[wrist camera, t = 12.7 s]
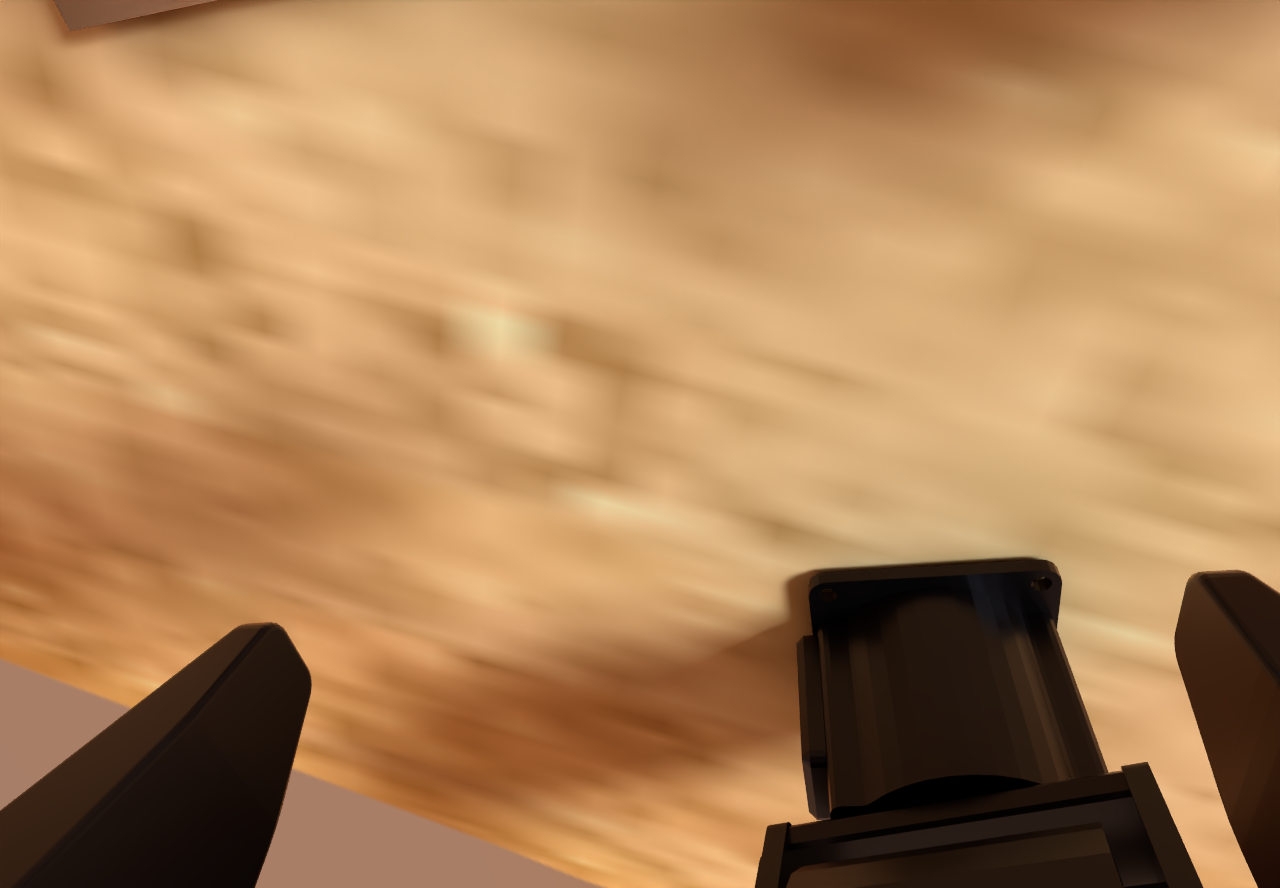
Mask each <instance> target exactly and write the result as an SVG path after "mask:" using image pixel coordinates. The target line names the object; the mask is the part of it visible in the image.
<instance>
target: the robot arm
mask: <svg viewBox="0 0 1280 888" xmlns="http://www.w3.org/2000/svg"><path fill="white" fill-rule="evenodd" d="M1040 577H1045V578H1043V579H1041V580H1035V579H1037V578H1040ZM1061 588H1062V580H1061V576H1060V574H1059V571H1058V569H1057V567H1056V566H1055V564H1054V563H1052V562H1050V561H1047V560H1024V561H1007V562H990V563H973V564H956V565H939V566H922V567H905V568H888V569H871V570H854V571H838V572H824V573H819V574H817V575H815V576H813V577H812V578H811V579H810V581H809V584H808V592H809V603H810V612H811V621H812V630H813V635H806V636H803V637H802V638H801V639H800V640H799V641H798V642H797V662H798V684H799V706H800V728H801V750H802V763H803V771H804V778H805V785H806V792H807V800H808V807H809V812H810V813H811V814H812V815H813V816H814V817H815V818H816V819H817V820H822V821H816V822H810V823H804V824H798V825H791V824H790V823H789V822H786V823H781V824H775V825H769V826H767V830H766V835H765V841H764V847H763V852H762V857H761V858H760V861H759V867H758V873H757V878H756V884H755V888H1203V886H1202V884H1201V881H1200V879H1199V877H1198V875H1197V872H1196V870H1195V868H1194V866H1193V863H1192V861H1191V859H1190V857H1189V854H1188V852H1187V850H1186V848H1185V845H1184V843H1183V841H1182V839H1181V836H1180V834H1179V832H1178V830H1177V827H1176V825H1175V823H1174V821H1173V818H1172V816H1171V814H1170V812H1169V809H1168V807H1167V805H1166V802H1165V800H1164V798H1163V796H1162V793H1161V791H1160V789H1159V787H1158V784H1157V782H1156V780H1155V778H1154V775H1153V773H1152V771H1151V769H1150V766H1149V764H1148V762H1143V763H1137V764H1131V765H1125V766H1121V769H1122V771H1116V772H1110V773H1108V770H1107V767H1106V764H1105V762H1104V759H1103V756H1102V753H1101V751H1100V748H1099V745H1098V742H1097V739H1096V737H1095V734H1094V731H1093V728H1092V726H1091V723H1090V720H1089V717H1088V715H1087V712H1086V709H1085V706H1084V704H1083V701H1082V698H1081V695H1080V693H1079V690H1078V687H1077V684H1076V681H1075V679H1074V676H1073V673H1072V670H1071V668H1070V665H1069V662H1068V659H1067V657H1066V654H1065V651H1064V648H1063V646H1062V643H1061V640H1060V637H1059V634H1058V632H1057V623H1058V614H1059V605H1060V597H1061ZM824 589H831V590H832V591H829V592H824V591H821V590H824ZM1175 652H1176V658H1177V661H1178V665H1179V668H1180V671H1181V674H1182V677H1183V681H1184V684H1185V687H1186V690H1187V693H1188V696H1189V699H1190V702H1191V706H1192V709H1193V712H1194V715H1195V718H1196V721H1197V724H1198V728H1199V731H1200V734H1201V737H1202V740H1203V743H1204V746H1205V749H1206V753H1207V756H1208V759H1209V762H1210V765H1211V768H1212V771H1213V774H1214V778H1215V781H1216V784H1217V787H1218V790H1219V793H1220V796H1221V799H1222V802H1223V805H1224V808H1225V811H1226V814H1227V817H1228V819H1229V822H1230V825H1231V827H1232V829H1233V832H1234V834H1235V837H1236V839H1237V841H1238V844H1239V846H1240V848H1241V851H1242V853H1243V855H1244V857H1245V860H1246V862H1247V864H1248V866H1249V868H1250V871H1251V873H1252V875H1253V877H1254V880H1255V882H1256V884H1257V886H1258V888H1280V593H1279V592H1277V591H1276V590H1274V589H1273V588H1271V587H1270V586H1268V585H1267V584H1265V583H1264V582H1262V581H1261V580H1259V579H1258V578H1257V577H1255V576H1253V575H1252V574H1250V573H1247V572H1245V571H1241V570H1226V571H1207V572H1198V573H1195V574H1193V575H1192V576H1191V577H1190V578H1189V579H1188V582H1187V584H1186V588H1185V592H1184V597H1183V601H1182V605H1181V610H1180V614H1179V618H1178V623H1177V627H1176V631H1175ZM311 685H312V683H311V675H310V672H309V669H308V667H307V666H306V664H305V662H304V661H303V659H302V657H301V656H300V654H299V652H298V651H297V649H296V647H295V646H294V644H293V642H292V641H291V639H290V637H289V636H288V634H287V632H286V631H285V630H284V628H283V627H282V626H280V625H279V624H277V623H272V622H269V623H251V624H244V625H240V626H238V627H236V628H235V629H233V630H232V631H231V632H230V633H228V634H227V635H226V636H224V637H223V638H222V639H220V640H219V641H218V642H217V643H215V644H214V645H213V646H211V647H210V648H209V649H208V650H206V651H205V652H204V653H202V654H201V655H200V656H199V657H197V658H196V659H195V660H193V661H192V662H191V663H190V664H188V665H187V666H186V667H184V668H183V669H182V670H181V671H179V672H178V673H177V674H175V675H174V676H173V677H172V678H170V679H169V680H168V681H166V682H165V683H164V684H163V685H161V686H160V687H159V688H157V689H156V690H155V691H154V692H152V693H151V694H150V695H148V696H147V697H146V698H145V699H143V700H142V701H141V702H139V703H138V704H137V705H136V706H134V707H133V708H132V709H130V710H129V711H128V712H127V713H125V714H124V715H123V716H121V717H120V718H119V719H118V720H116V721H115V722H114V723H112V724H111V725H110V726H109V727H107V728H106V729H105V730H103V731H102V732H101V733H100V734H98V735H97V736H96V737H94V738H93V739H92V740H90V741H89V742H88V743H87V744H85V745H84V746H83V747H81V748H80V749H79V750H78V751H76V752H75V753H74V754H72V755H71V756H70V757H69V758H67V759H66V760H65V761H63V762H62V763H61V764H60V765H58V766H57V767H56V768H54V769H53V770H52V771H51V772H49V773H48V774H47V775H45V776H44V777H43V778H42V779H40V780H39V781H38V782H36V783H35V784H34V785H33V786H31V787H30V788H29V789H27V790H26V791H25V792H24V793H22V794H21V795H20V796H18V797H17V798H16V799H15V800H13V801H12V802H11V803H9V804H8V805H7V806H6V807H4V808H3V809H2V810H0V888H255V886H256V883H257V880H258V878H259V875H260V872H261V869H262V866H263V864H264V861H265V858H266V856H267V853H268V850H269V847H270V844H271V841H272V838H273V835H274V832H275V829H276V826H277V823H278V819H279V816H280V812H281V809H282V805H283V801H284V798H285V793H286V790H287V786H288V782H289V778H290V774H291V770H292V766H293V762H294V758H295V754H296V750H297V746H298V742H299V738H300V734H301V730H302V727H303V723H304V719H305V715H306V711H307V707H308V703H309V699H310V695H311Z"/></svg>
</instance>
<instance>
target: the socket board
mask: <svg viewBox="0 0 1280 888" xmlns="http://www.w3.org/2000/svg"><path fill="white" fill-rule="evenodd" d="M54 1H55V3H56V5H57V7H58V9H59V11H60V13H61V15H62V17H63V19H64V21H65V23H66V25H67V27H68V29H69V31H75V30H79V29H84V28H89V27H93V26H98V25H103V24H107V23H112V22H117V21H122V20H126V19H131V18H136V17H140V16H145V15H150V14H154V13H159V12H164V11H168V10H173V9H178V8H182V7H187V6H192V5H196V4H201V3H206V2H211V1H215V0H54Z"/></svg>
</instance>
